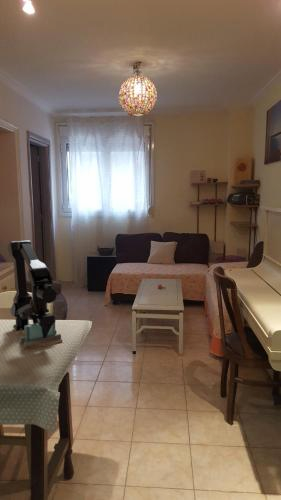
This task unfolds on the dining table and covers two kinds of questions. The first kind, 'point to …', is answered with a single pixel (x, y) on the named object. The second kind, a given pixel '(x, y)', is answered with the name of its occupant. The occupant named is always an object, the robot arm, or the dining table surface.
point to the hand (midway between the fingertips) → (40, 334)
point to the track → (40, 341)
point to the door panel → (37, 331)
